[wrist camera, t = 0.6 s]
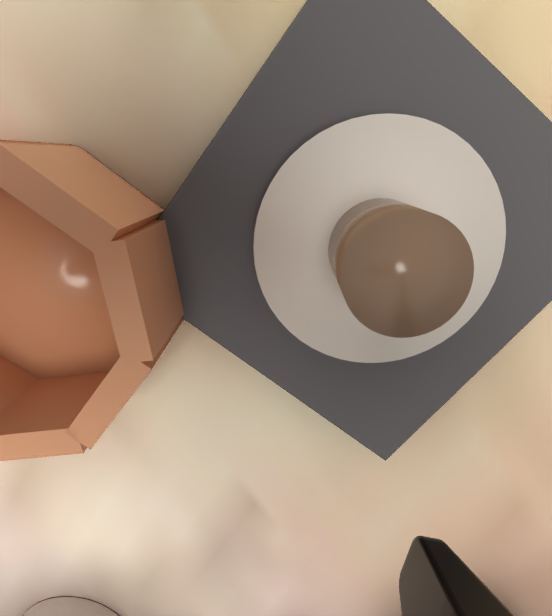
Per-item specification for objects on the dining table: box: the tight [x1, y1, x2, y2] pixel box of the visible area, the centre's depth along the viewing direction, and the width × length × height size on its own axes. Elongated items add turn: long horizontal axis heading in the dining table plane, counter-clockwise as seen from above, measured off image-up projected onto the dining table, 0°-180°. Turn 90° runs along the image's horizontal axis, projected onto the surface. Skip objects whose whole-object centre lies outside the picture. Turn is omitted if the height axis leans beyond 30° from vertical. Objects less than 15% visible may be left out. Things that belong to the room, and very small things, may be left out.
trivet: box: [158, 0, 552, 461], centre depth 17 cm, size 14×14×1 cm
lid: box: [253, 113, 506, 363], centre depth 15 cm, size 9×9×5 cm
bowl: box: [0, 140, 184, 461], centre depth 16 cm, size 10×10×5 cm
